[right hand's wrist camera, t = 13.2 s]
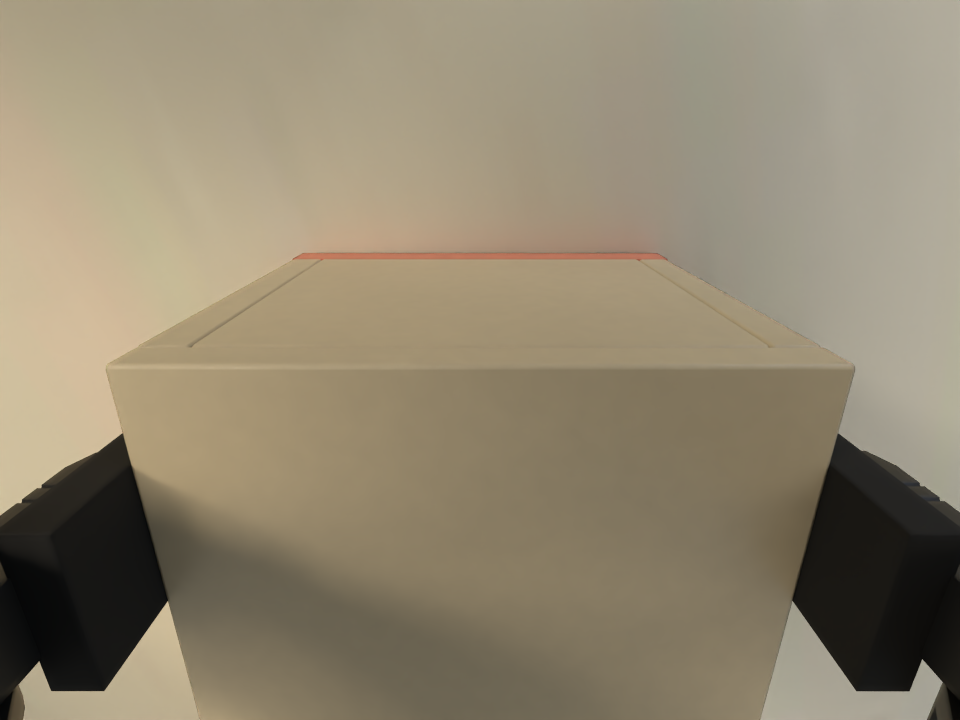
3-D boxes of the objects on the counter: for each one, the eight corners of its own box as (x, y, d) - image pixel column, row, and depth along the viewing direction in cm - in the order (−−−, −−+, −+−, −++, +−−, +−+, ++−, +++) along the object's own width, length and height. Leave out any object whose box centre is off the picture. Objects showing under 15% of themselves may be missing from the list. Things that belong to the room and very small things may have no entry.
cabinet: (605, 688, 23) (682, 1012, 14) (353, 688, 23) (276, 1013, 14) (657, 253, 16) (860, 364, 8) (302, 253, 16) (100, 363, 8)
